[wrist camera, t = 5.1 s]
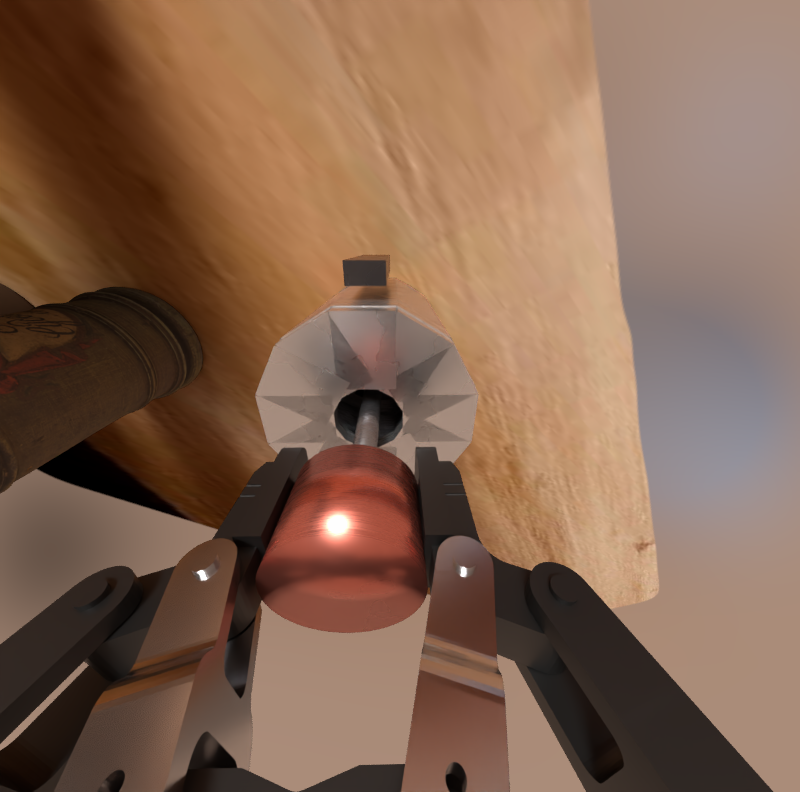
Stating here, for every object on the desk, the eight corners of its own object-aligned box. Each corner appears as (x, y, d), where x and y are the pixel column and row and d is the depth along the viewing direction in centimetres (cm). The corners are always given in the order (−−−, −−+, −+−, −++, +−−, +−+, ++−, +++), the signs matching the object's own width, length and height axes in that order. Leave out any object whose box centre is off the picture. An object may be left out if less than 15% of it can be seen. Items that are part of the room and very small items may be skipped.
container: (222, 378, 26) (-49, 585, 10) (133, 395, 27) (-253, 613, 11) (167, 275, 22) (-434, 349, 6) (63, 297, 23) (-729, 418, 7)
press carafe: (310, 254, 21) (216, 262, 10) (445, 254, 22) (500, 262, 10) (329, 392, 27) (280, 498, 16) (435, 392, 27) (465, 496, 16)
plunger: (326, 304, 20) (117, 478, 5) (427, 304, 20) (526, 473, 5) (336, 394, 23) (231, 661, 8) (423, 394, 23) (475, 656, 8)
